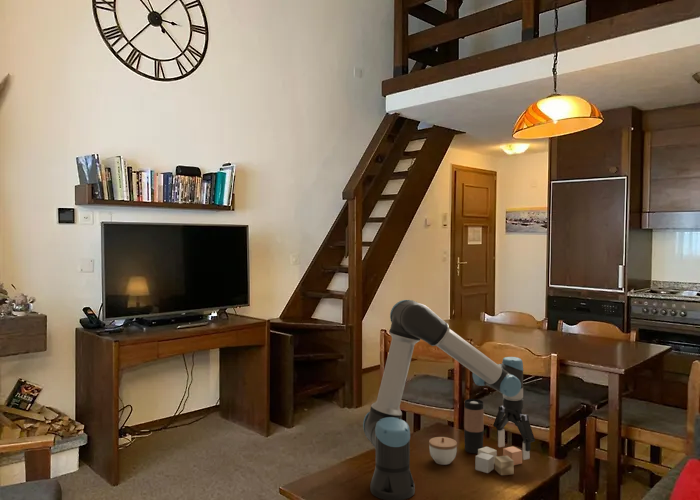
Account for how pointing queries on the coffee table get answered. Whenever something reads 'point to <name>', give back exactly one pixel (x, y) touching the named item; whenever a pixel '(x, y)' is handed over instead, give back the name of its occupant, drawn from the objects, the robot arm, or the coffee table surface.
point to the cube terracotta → (513, 454)
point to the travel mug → (473, 425)
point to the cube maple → (504, 465)
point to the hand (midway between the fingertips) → (513, 452)
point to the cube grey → (484, 462)
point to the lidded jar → (443, 449)
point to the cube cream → (488, 451)
